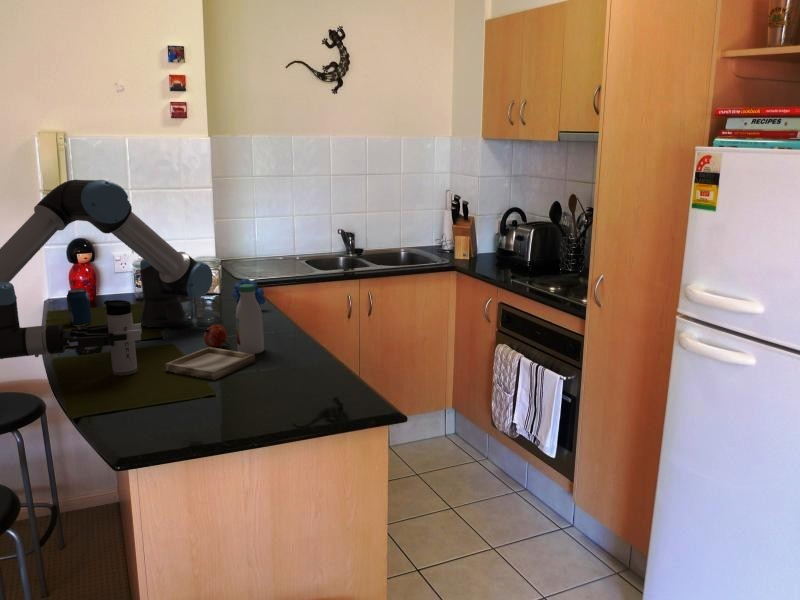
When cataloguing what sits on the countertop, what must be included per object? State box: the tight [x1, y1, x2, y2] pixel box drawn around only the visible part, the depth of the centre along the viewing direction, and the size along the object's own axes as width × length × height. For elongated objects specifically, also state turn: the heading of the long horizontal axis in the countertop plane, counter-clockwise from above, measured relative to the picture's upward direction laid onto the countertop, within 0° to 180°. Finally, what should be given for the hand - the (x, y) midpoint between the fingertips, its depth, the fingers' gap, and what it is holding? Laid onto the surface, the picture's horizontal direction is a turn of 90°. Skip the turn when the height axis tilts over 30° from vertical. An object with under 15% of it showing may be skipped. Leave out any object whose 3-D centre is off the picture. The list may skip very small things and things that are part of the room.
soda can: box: [66, 288, 93, 326], centre depth 243 cm, size 7×7×12 cm
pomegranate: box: [203, 324, 230, 349], centre depth 215 cm, size 7×7×10 cm
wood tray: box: [164, 346, 256, 381], centre depth 198 cm, size 17×17×2 cm
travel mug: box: [103, 299, 138, 377], centre depth 192 cm, size 6×7×20 cm
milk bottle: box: [235, 284, 265, 355], centre depth 209 cm, size 8×8×20 cm
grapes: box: [231, 278, 266, 309], centre depth 257 cm, size 12×7×12 cm, turn 94°
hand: (140, 331), depth 193 cm, fingers closed on travel mug, 6 cm apart
